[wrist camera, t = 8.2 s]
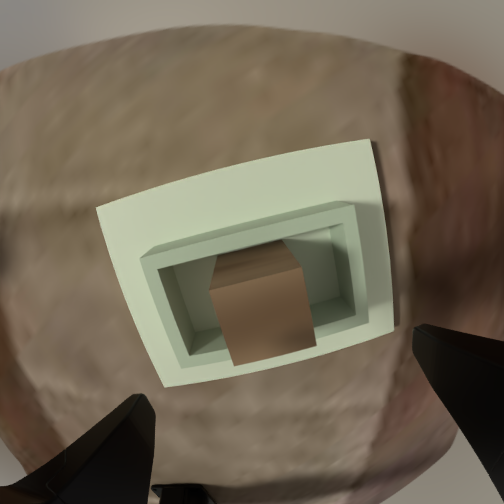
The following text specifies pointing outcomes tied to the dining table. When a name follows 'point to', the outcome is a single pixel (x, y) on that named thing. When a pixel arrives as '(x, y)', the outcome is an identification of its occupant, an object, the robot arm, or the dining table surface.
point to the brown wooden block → (261, 303)
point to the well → (247, 235)
